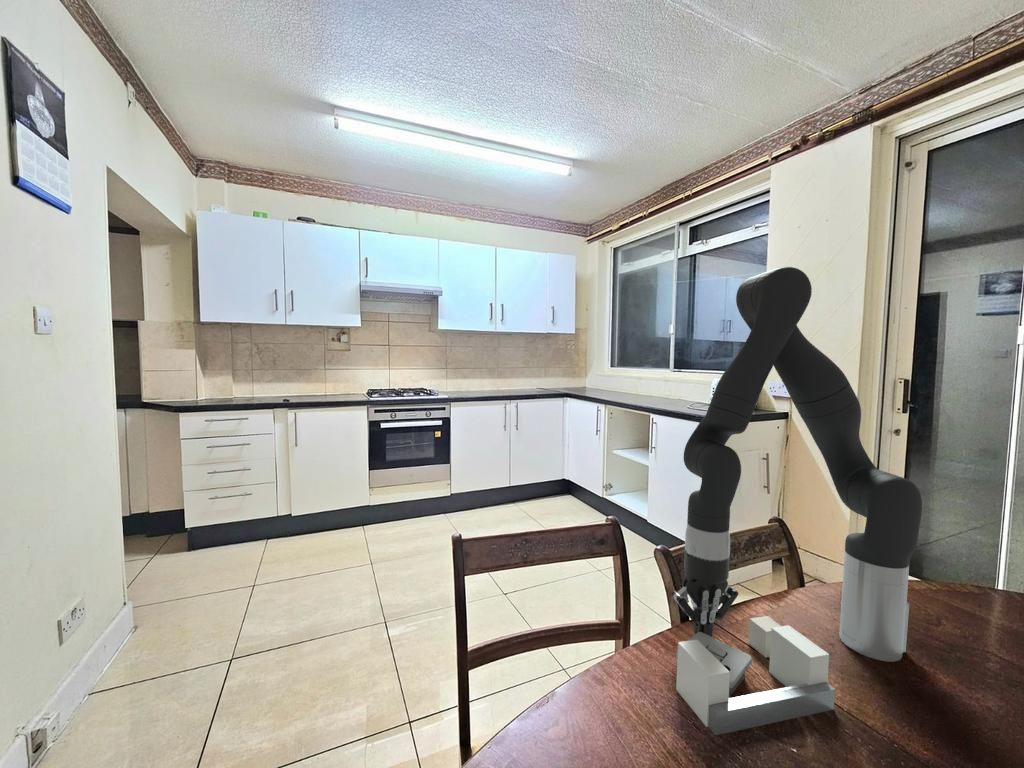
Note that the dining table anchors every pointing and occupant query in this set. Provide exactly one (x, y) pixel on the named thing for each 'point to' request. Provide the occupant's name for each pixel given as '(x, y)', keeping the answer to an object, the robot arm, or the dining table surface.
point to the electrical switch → (726, 658)
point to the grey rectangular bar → (770, 707)
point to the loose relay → (761, 634)
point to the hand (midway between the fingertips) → (702, 639)
